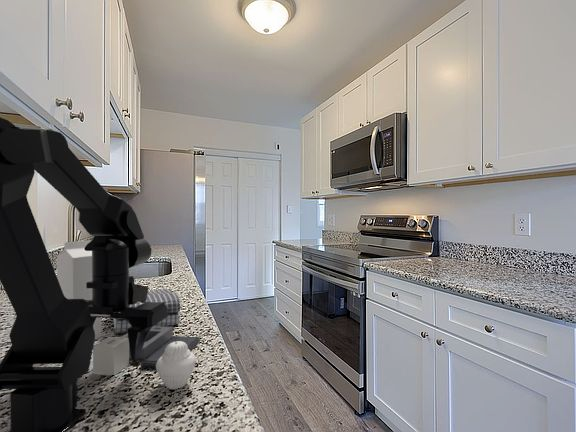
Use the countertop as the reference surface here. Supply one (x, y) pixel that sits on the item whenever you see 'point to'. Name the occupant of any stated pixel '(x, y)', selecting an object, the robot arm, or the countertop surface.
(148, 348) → the grey tray
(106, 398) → the countertop surface
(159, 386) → the countertop surface
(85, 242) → the milk
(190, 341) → the phone
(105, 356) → the block
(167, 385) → the white ribbed lump
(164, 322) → the towel
